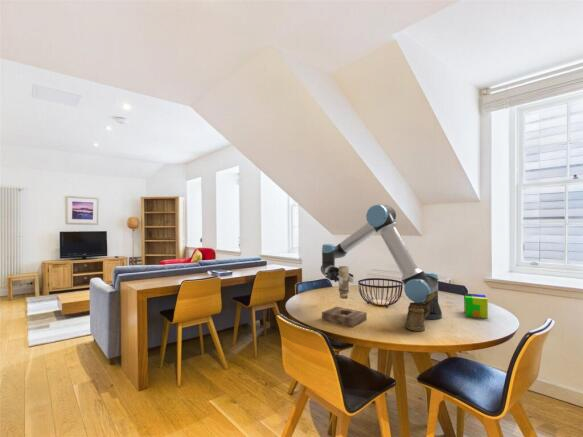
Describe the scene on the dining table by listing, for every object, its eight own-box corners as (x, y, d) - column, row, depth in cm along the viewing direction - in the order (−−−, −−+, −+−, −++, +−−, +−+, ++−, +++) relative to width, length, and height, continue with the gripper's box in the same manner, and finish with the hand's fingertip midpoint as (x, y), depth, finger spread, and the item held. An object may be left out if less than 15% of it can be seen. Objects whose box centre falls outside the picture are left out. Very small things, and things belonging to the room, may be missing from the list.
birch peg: (350, 297, 163) (350, 266, 163) (345, 299, 159) (345, 267, 159) (342, 296, 166) (341, 265, 166) (336, 298, 162) (336, 266, 162)
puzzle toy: (485, 313, 173) (484, 295, 173) (487, 318, 164) (487, 299, 164) (464, 311, 177) (464, 293, 177) (465, 316, 168) (465, 297, 168)
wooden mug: (437, 333, 144) (441, 294, 144) (408, 330, 144) (412, 291, 143) (429, 325, 153) (432, 289, 152) (401, 323, 153) (405, 286, 152)
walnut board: (366, 320, 162) (366, 312, 162) (353, 327, 151) (352, 318, 151) (336, 313, 173) (336, 306, 174) (321, 319, 163) (321, 312, 163)
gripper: (348, 278, 182) (364, 287, 159) (318, 279, 179) (329, 288, 156) (348, 265, 182) (364, 272, 159) (317, 266, 179) (329, 273, 156)
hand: (347, 280), depth 157 cm, fingers closed on birch peg, 5 cm apart
